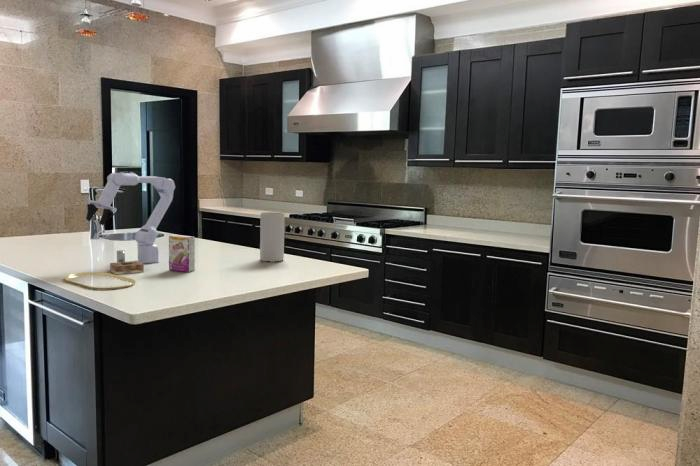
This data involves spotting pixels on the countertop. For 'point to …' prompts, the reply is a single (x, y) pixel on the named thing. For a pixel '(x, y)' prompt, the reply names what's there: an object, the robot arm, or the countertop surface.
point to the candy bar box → (181, 253)
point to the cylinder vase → (272, 236)
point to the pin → (121, 256)
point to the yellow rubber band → (100, 274)
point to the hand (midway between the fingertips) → (94, 222)
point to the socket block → (126, 267)
